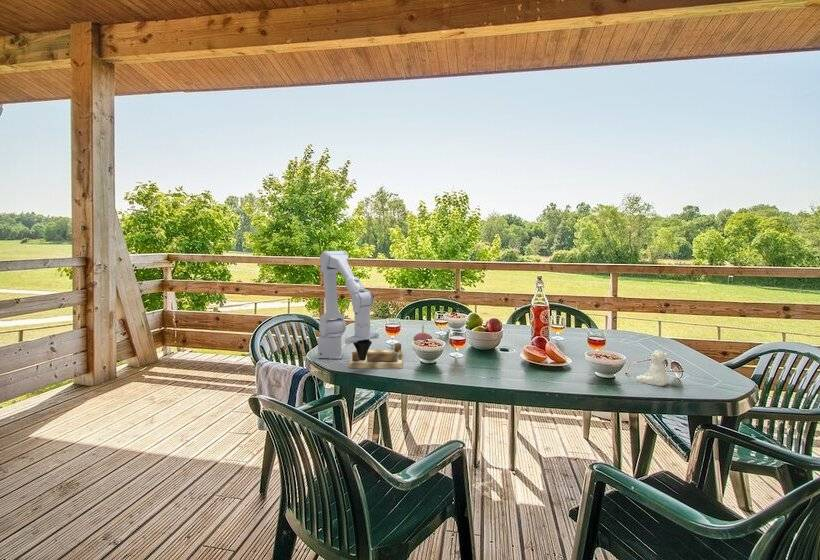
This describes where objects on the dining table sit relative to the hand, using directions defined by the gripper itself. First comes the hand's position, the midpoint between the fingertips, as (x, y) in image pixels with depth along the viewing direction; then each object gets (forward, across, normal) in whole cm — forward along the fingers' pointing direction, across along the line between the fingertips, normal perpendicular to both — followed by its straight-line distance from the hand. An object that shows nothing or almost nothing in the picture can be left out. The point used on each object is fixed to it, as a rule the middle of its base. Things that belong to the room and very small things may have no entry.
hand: (362, 359), depth 161 cm
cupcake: (+4, +39, +6) cm, 40 cm away
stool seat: (+4, +12, +5) cm, 13 cm away
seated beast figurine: (+4, +64, -82) cm, 104 cm away
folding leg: (+1, +9, -2) cm, 9 cm away
